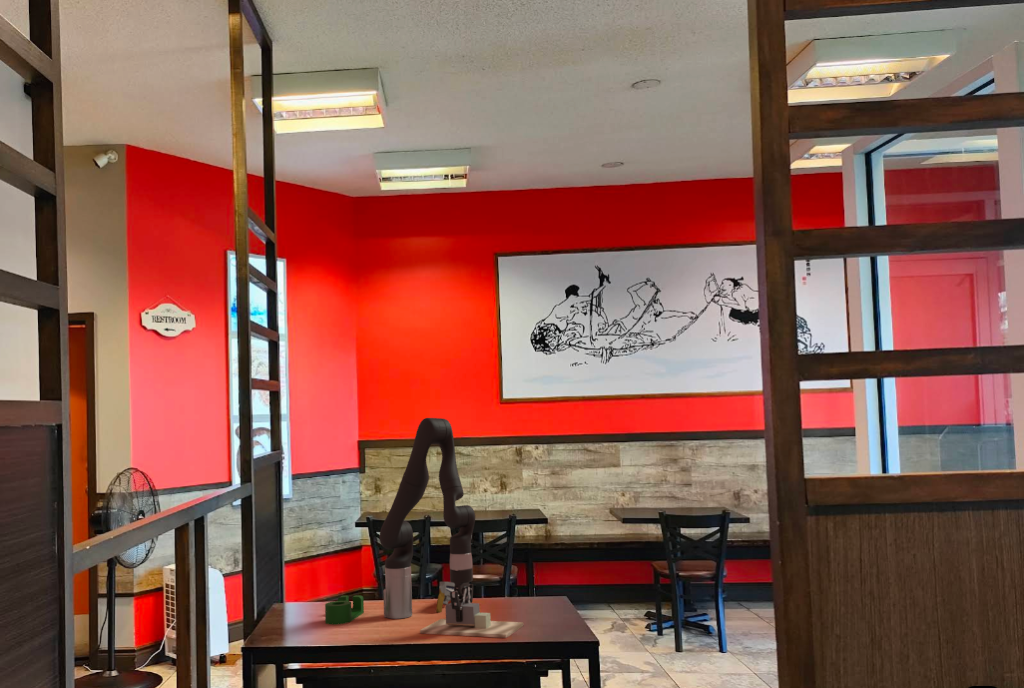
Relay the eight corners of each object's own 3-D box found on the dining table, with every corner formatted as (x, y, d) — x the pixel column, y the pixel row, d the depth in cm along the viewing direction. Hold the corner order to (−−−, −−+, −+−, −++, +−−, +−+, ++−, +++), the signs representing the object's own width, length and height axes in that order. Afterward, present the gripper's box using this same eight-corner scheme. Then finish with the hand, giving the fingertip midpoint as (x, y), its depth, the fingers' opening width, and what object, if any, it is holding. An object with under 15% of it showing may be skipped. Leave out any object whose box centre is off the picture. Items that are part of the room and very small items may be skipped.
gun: (461, 623, 305) (464, 583, 312) (440, 611, 284) (444, 569, 291) (453, 623, 306) (456, 583, 313) (432, 611, 285) (436, 569, 292)
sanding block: (445, 624, 260) (445, 605, 260) (452, 620, 264) (451, 602, 265) (473, 625, 256) (473, 606, 257) (479, 622, 261) (479, 603, 261)
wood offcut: (474, 628, 257) (474, 615, 257) (479, 625, 260) (479, 612, 261) (486, 628, 255) (485, 615, 256) (490, 625, 259) (490, 612, 259)
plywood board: (420, 633, 257) (419, 630, 257) (441, 621, 272) (441, 618, 272) (506, 637, 246) (506, 634, 246) (523, 625, 261) (523, 622, 261)
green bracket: (346, 625, 273) (345, 606, 274) (321, 625, 275) (321, 606, 275) (363, 613, 291) (363, 595, 292) (340, 613, 292) (340, 595, 293)
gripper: (459, 563, 270) (461, 614, 268) (441, 570, 257) (443, 624, 255) (480, 563, 268) (481, 615, 266) (462, 570, 254) (464, 625, 252)
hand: (462, 619), depth 260 cm, fingers closed on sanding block, 5 cm apart
